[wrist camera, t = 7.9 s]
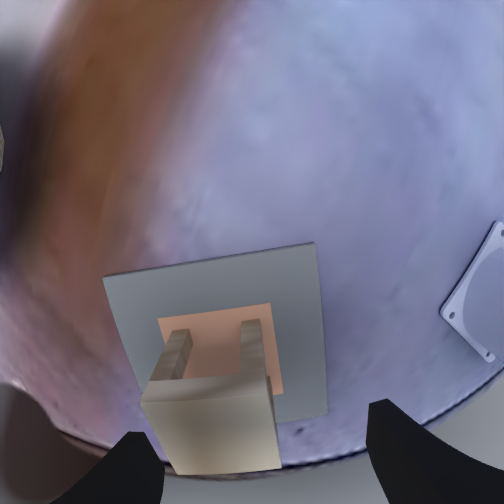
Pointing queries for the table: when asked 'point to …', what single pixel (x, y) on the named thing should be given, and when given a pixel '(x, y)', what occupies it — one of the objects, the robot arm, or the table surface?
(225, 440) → the stool
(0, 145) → the bowl
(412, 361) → the table surface
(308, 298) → the mat
